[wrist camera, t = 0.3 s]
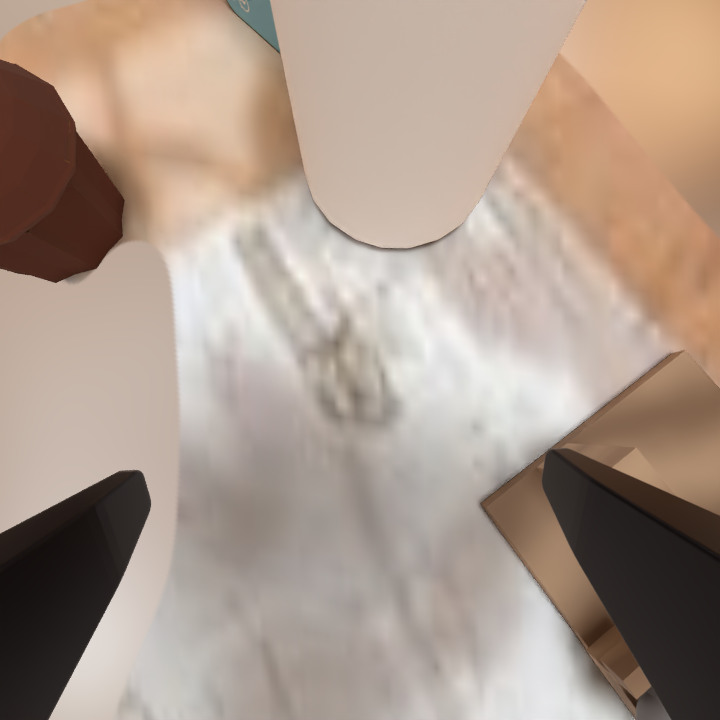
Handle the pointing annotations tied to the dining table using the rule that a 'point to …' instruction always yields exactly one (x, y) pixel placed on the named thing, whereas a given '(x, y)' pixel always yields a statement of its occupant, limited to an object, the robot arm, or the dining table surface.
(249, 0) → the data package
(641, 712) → the grey rod
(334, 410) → the dining table surface
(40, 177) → the muffin
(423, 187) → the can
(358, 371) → the dining table surface
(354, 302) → the dining table surface
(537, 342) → the dining table surface
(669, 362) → the cradle
